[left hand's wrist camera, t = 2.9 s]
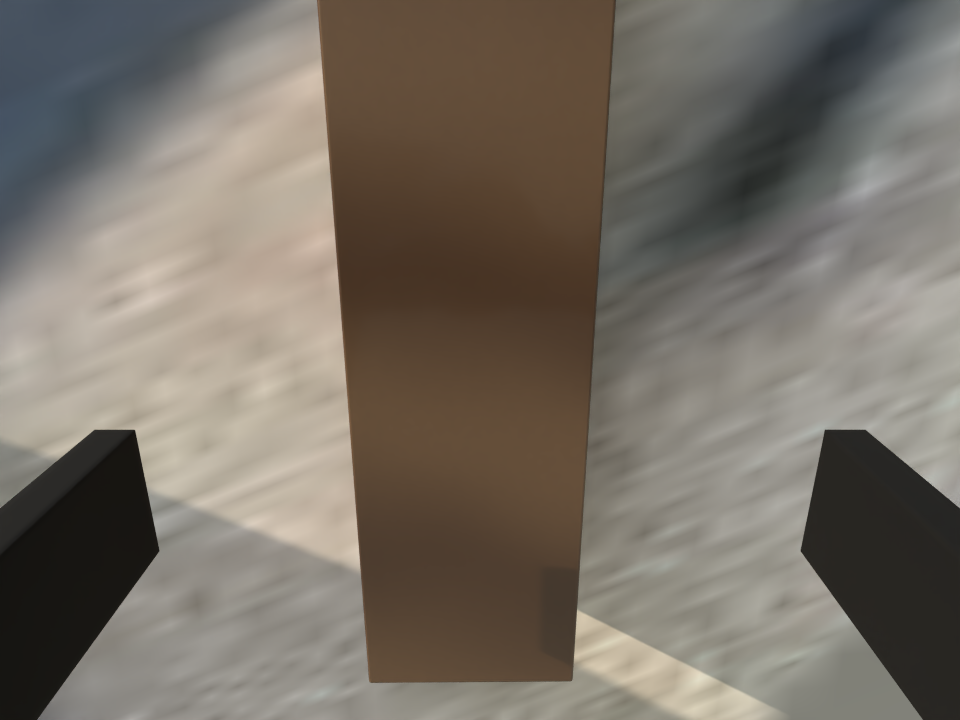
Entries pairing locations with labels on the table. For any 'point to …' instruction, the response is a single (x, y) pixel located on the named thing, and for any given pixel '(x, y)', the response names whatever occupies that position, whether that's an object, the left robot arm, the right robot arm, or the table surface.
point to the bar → (468, 319)
